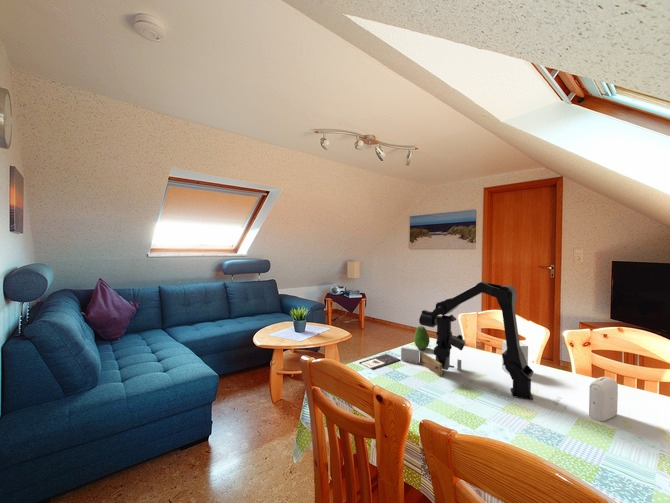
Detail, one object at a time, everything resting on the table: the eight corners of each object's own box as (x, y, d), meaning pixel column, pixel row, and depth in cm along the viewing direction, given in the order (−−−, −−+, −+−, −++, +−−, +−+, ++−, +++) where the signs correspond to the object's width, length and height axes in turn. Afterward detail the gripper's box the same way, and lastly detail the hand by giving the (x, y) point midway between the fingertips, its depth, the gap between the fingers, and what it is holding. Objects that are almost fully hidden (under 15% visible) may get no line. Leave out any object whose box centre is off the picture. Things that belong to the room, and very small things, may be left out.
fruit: (411, 347, 164) (411, 324, 164) (423, 345, 166) (424, 323, 166) (419, 352, 156) (419, 328, 156) (432, 350, 159) (433, 327, 158)
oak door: (437, 376, 128) (437, 364, 127) (417, 362, 142) (417, 351, 142) (442, 375, 128) (442, 363, 128) (422, 362, 143) (422, 351, 143)
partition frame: (461, 370, 134) (461, 356, 134) (401, 360, 145) (401, 347, 145) (461, 368, 136) (461, 354, 136) (402, 358, 147) (402, 346, 147)
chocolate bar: (400, 359, 145) (372, 368, 134) (400, 361, 145) (372, 370, 134) (386, 353, 152) (359, 362, 141) (386, 355, 152) (359, 364, 141)
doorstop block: (447, 370, 130) (447, 356, 130) (435, 367, 133) (435, 353, 132) (449, 367, 133) (449, 353, 133) (437, 364, 136) (438, 351, 136)
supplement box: (528, 376, 129) (528, 346, 128) (510, 375, 129) (511, 345, 129) (518, 368, 136) (518, 340, 136) (501, 368, 136) (501, 340, 136)
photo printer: (602, 423, 95) (603, 383, 94) (586, 416, 98) (587, 378, 98) (619, 415, 99) (620, 377, 99) (603, 409, 103) (604, 372, 103)
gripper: (463, 338, 120) (462, 377, 121) (465, 326, 137) (464, 360, 138) (433, 334, 125) (433, 372, 126) (439, 323, 142) (438, 356, 142)
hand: (443, 365), depth 133 cm, fingers closed on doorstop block, 4 cm apart
